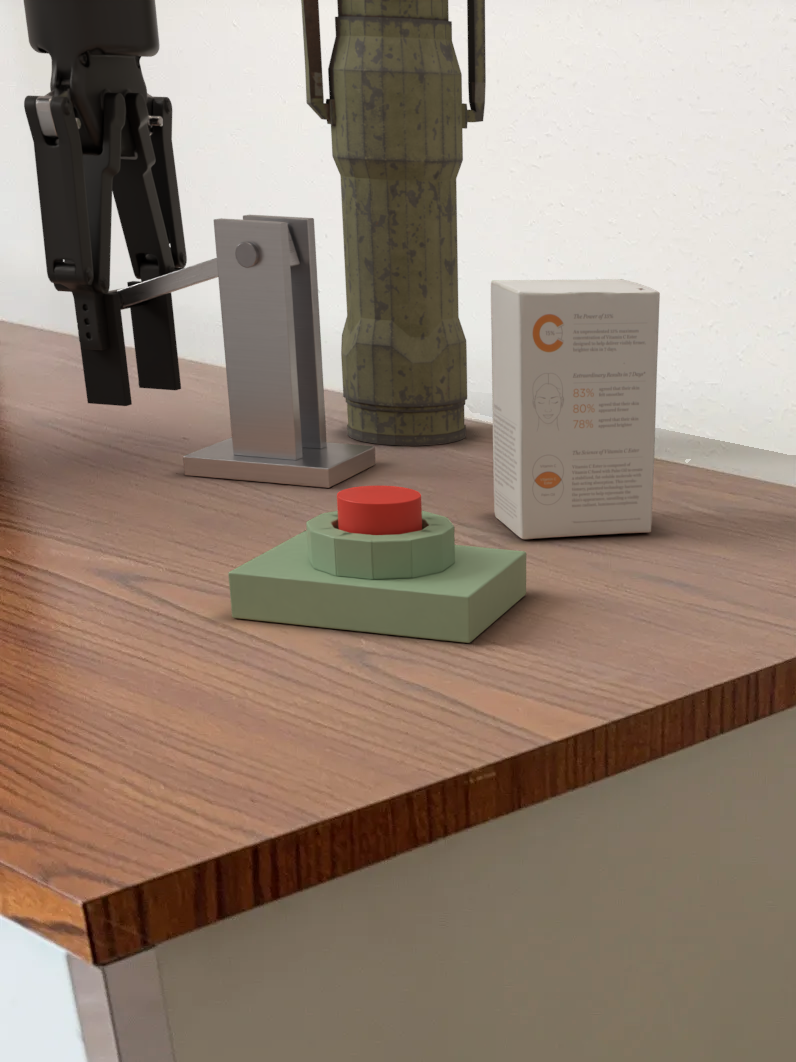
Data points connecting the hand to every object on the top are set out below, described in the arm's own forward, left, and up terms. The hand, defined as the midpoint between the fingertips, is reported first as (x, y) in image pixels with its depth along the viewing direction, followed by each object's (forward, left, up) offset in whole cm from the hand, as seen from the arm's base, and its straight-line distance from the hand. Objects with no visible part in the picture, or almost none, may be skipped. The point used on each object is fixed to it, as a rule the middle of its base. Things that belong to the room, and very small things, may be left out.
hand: (135, 395), depth 108 cm
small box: (+32, -8, -4) cm, 33 cm away
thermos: (+13, +15, -4) cm, 20 cm away
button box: (+28, -28, -4) cm, 40 cm away
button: (+28, -28, 0) cm, 40 cm away
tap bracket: (+10, 0, -4) cm, 11 cm away
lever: (+6, 0, +6) cm, 8 cm away
